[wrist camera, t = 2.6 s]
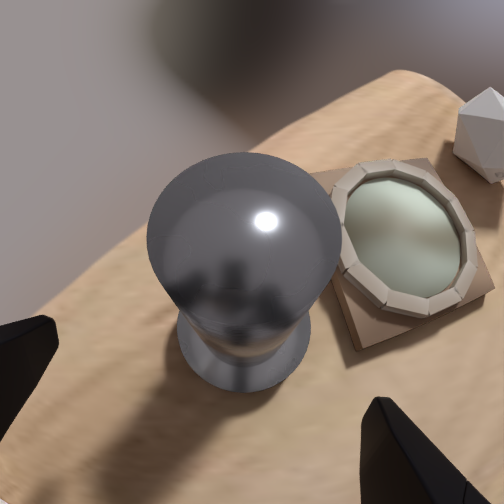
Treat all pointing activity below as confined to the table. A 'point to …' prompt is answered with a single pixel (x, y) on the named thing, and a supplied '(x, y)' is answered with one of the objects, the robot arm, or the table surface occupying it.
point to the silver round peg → (244, 264)
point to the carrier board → (400, 248)
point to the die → (482, 135)
